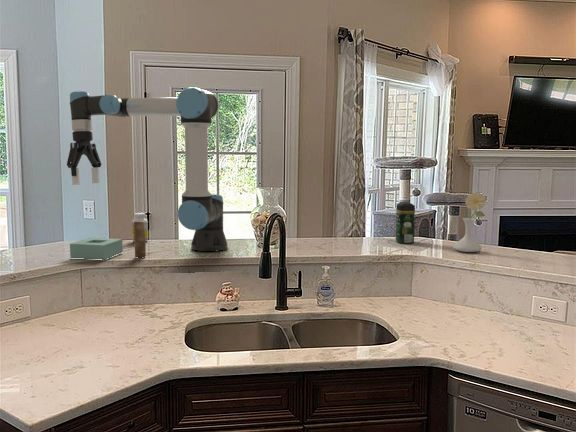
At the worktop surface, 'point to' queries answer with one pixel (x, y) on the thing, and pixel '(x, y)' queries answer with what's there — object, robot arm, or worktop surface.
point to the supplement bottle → (141, 218)
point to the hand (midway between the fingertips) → (86, 183)
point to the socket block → (96, 248)
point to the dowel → (139, 239)
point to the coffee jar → (405, 222)
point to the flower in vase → (467, 241)
